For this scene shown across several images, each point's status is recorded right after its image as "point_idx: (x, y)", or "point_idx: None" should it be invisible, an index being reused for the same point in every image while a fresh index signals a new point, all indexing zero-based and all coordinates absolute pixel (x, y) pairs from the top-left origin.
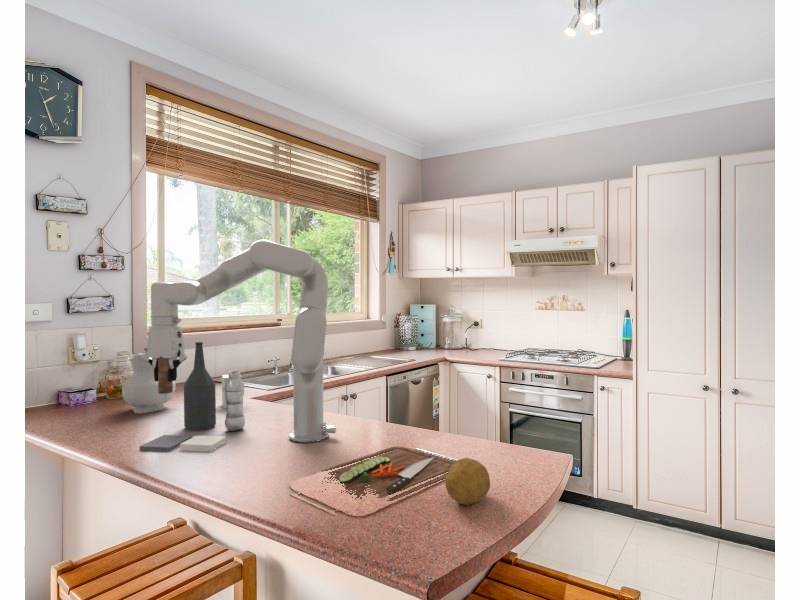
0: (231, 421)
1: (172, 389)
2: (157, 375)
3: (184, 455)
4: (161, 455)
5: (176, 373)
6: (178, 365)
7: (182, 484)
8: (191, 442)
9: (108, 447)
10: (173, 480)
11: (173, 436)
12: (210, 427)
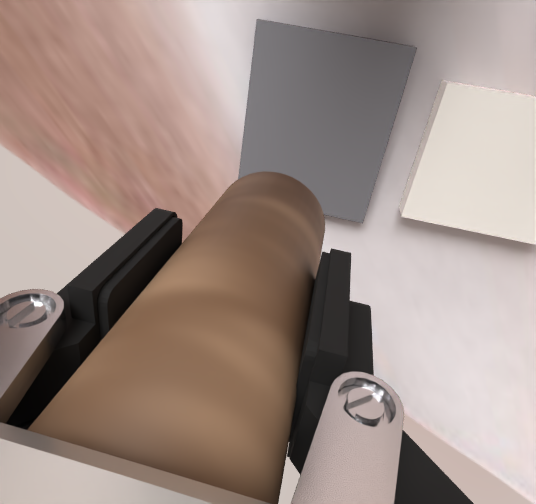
0: None
1: (321, 221)
2: None
3: (431, 264)
4: None
5: (369, 339)
6: (415, 455)
7: (477, 454)
8: (446, 200)
9: (108, 144)
10: (448, 431)
11: (318, 54)
12: None
